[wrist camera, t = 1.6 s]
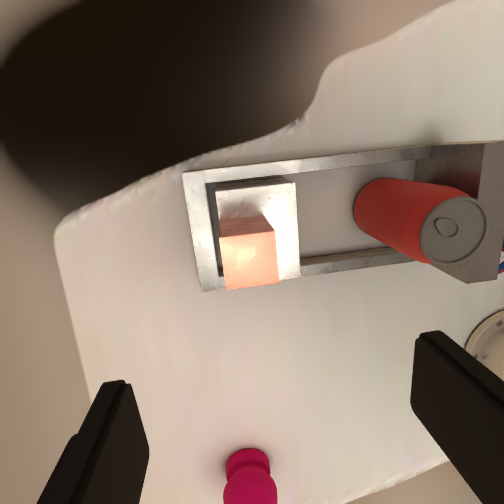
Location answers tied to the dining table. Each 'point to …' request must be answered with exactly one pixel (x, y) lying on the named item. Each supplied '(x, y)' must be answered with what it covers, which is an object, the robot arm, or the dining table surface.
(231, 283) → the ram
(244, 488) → the pepper mill
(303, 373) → the dining table surface
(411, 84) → the dining table surface
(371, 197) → the beer can
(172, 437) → the dining table surface
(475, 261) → the press frame
